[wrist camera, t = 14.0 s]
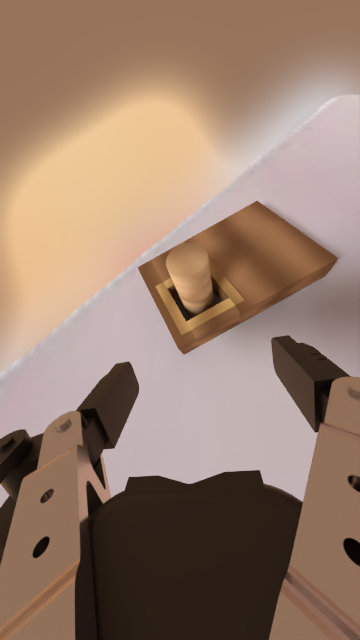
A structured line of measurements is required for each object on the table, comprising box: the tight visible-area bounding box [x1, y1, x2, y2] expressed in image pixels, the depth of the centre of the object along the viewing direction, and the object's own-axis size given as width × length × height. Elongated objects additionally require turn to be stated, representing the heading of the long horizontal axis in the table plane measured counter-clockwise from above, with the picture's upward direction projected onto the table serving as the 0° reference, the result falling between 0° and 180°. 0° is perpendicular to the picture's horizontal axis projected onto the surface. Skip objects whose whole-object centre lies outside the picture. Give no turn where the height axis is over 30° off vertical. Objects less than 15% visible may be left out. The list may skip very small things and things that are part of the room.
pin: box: [166, 243, 215, 318], centre depth 21 cm, size 4×4×9 cm
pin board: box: [138, 201, 338, 354], centre depth 24 cm, size 20×14×3 cm
